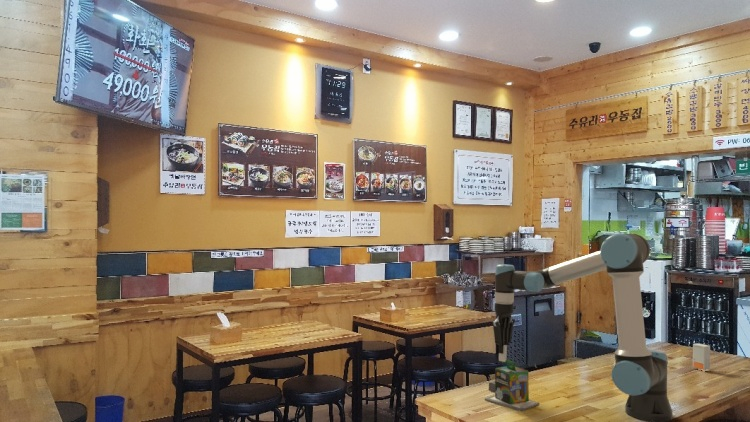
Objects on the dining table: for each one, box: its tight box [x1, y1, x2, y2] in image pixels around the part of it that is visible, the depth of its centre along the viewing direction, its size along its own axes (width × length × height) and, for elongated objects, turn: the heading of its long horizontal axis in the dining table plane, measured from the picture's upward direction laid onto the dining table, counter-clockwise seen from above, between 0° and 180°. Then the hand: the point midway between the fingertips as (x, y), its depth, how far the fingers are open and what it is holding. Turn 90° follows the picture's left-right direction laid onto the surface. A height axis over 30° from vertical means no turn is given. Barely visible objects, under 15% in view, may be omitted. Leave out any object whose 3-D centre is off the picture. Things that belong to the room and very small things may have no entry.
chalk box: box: [494, 359, 530, 404], centre depth 209 cm, size 9×9×15 cm
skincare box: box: [692, 342, 711, 370], centre depth 262 cm, size 6×4×12 cm
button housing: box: [488, 380, 495, 393], centre depth 223 cm, size 8×8×3 cm
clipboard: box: [484, 394, 540, 412], centre depth 208 cm, size 16×12×1 cm
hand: (502, 361), depth 224 cm, fingers closed
